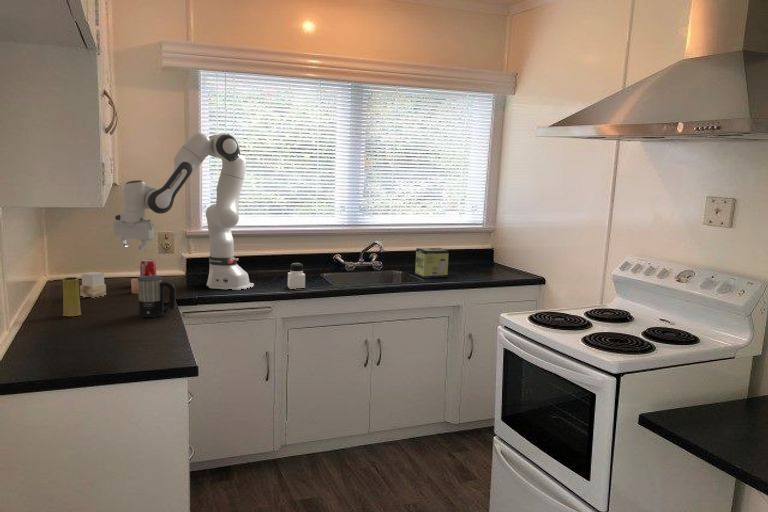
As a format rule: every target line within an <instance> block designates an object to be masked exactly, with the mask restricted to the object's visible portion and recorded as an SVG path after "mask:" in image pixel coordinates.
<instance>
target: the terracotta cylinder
mask: <svg viewBox="0 0 768 512" xmlns="http://www.w3.org/2000/svg"><path fill="white" fill-rule="evenodd" d="M137 278H138V277H136V278H131V279H130V282H131V283H130V285H131V294H133V295H139V293H138V280H137Z"/></svg>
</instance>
